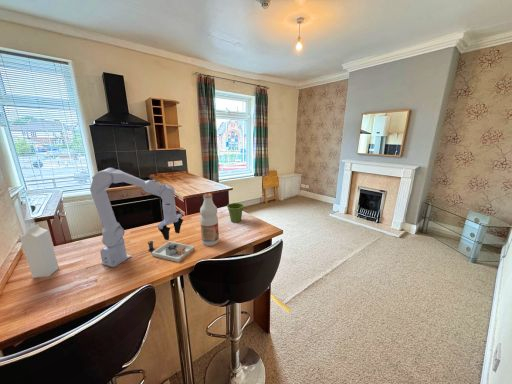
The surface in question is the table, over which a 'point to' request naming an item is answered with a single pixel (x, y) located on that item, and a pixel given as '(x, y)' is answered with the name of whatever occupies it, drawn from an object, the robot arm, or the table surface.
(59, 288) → the table surface
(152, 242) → the knob
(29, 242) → the milk
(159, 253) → the tray
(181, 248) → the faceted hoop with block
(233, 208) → the plant pot
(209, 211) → the fruit juice
